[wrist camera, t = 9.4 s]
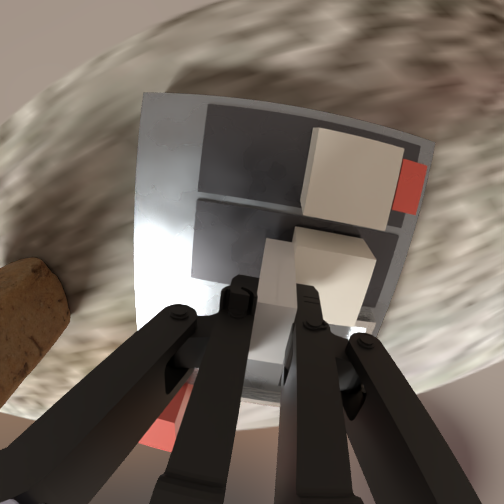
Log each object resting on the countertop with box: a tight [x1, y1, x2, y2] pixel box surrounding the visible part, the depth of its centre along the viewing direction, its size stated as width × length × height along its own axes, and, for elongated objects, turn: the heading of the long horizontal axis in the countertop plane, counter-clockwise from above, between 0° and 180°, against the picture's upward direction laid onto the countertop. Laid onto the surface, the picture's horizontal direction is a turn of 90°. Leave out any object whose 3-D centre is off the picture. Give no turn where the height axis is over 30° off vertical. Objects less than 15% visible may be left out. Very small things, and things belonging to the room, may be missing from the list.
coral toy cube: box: [138, 383, 193, 452], centre depth 25 cm, size 5×5×7 cm
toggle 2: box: [292, 226, 376, 327], centre depth 17 cm, size 4×4×3 cm
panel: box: [134, 92, 435, 407], centre depth 20 cm, size 17×21×4 cm
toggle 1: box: [300, 128, 404, 231], centre depth 15 cm, size 4×4×3 cm
